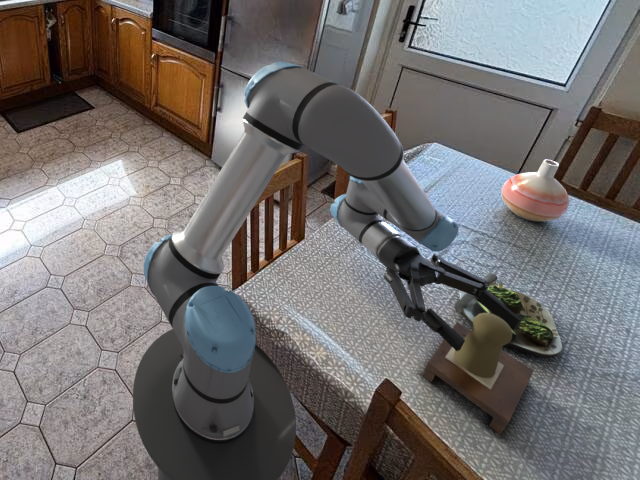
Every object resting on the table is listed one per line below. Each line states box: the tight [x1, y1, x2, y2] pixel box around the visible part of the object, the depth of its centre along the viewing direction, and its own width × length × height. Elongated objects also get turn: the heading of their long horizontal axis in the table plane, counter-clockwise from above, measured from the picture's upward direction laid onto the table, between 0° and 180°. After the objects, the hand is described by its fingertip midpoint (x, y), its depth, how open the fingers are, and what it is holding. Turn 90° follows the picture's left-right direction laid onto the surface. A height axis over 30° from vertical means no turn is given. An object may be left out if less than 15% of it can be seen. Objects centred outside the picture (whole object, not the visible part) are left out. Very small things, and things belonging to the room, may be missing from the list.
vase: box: [500, 159, 570, 222], centre depth 114 cm, size 14×14×18 cm
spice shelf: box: [421, 321, 535, 435], centre depth 77 cm, size 12×14×4 cm
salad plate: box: [453, 272, 564, 359], centre depth 89 cm, size 19×18×5 cm
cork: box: [455, 313, 512, 378], centre depth 74 cm, size 6×6×11 cm
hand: (490, 335), depth 73 cm, fingers open, 13 cm apart
